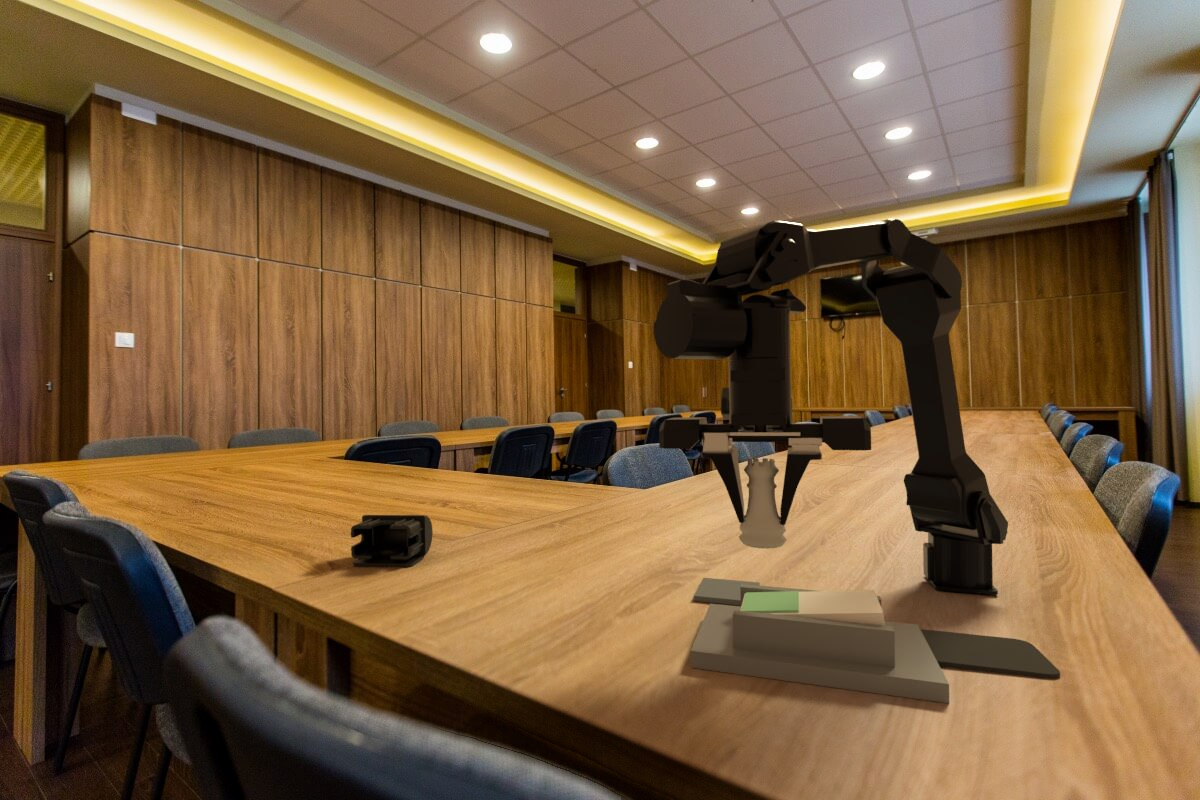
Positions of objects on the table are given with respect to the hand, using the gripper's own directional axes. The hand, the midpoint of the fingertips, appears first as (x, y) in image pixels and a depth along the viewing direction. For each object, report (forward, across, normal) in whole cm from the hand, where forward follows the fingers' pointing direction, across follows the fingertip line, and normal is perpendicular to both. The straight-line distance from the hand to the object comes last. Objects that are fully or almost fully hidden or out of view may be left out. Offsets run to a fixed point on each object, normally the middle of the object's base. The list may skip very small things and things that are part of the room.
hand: (762, 522), depth 55 cm
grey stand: (+12, -4, 0) cm, 12 cm away
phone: (+12, -16, -4) cm, 21 cm away
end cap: (+12, +55, -15) cm, 58 cm away
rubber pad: (+12, +5, -14) cm, 19 cm away
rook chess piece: (+2, 0, 0) cm, 2 cm away
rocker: (+8, -4, 0) cm, 9 cm away
